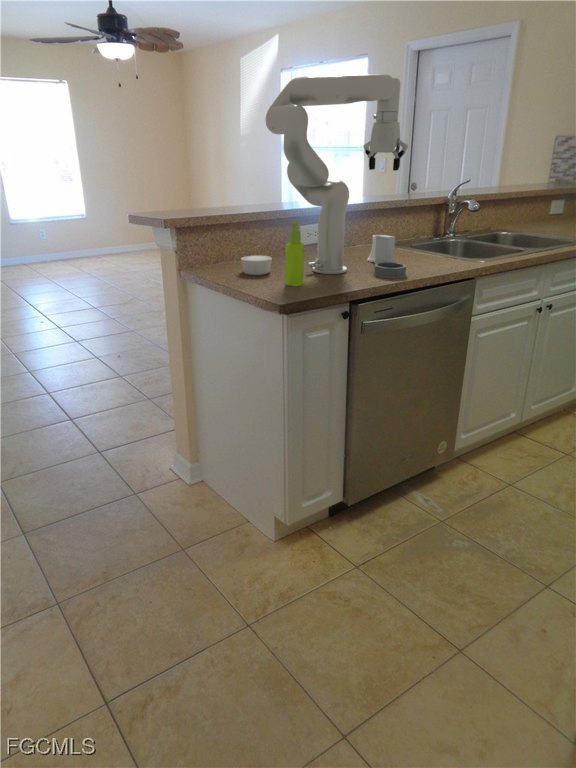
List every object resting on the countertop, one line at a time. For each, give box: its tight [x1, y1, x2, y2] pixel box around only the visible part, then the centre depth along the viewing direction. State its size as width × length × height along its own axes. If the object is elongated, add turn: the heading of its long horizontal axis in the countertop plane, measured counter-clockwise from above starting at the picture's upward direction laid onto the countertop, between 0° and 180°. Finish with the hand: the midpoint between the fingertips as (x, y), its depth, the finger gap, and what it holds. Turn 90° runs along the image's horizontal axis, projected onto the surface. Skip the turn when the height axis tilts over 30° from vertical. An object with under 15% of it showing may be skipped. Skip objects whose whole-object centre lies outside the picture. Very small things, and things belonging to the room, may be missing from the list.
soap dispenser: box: [285, 220, 305, 287], centre depth 179 cm, size 6×7×20 cm
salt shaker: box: [367, 234, 379, 264], centre depth 218 cm, size 8×8×10 cm
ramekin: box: [240, 255, 273, 276], centre depth 198 cm, size 11×11×5 cm
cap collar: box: [372, 261, 407, 279], centre depth 196 cm, size 12×12×3 cm
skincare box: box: [374, 234, 396, 264], centre depth 203 cm, size 6×4×12 cm
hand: (383, 169), depth 200 cm, fingers open, 9 cm apart
